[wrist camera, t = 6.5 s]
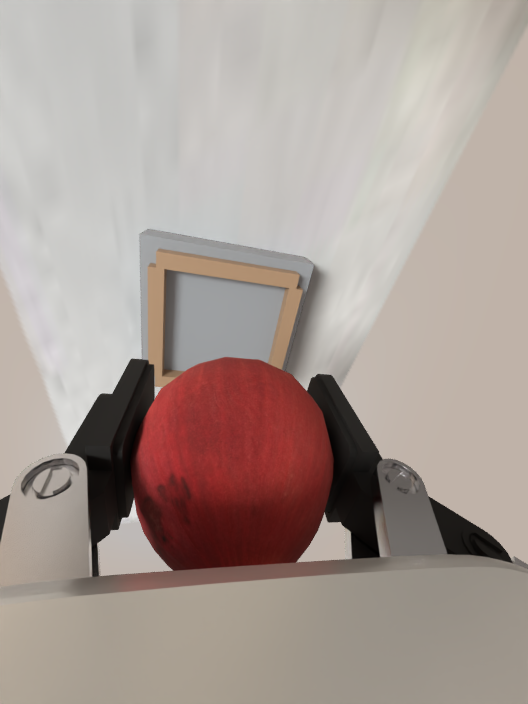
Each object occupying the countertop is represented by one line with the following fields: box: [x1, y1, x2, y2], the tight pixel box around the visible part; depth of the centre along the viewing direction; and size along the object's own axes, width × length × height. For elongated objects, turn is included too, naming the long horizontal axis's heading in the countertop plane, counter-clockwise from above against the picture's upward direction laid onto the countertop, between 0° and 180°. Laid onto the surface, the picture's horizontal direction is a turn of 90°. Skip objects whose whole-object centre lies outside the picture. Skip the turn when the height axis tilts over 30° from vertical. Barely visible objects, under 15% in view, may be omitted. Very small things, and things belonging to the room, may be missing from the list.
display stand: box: [139, 229, 314, 387], centre depth 27 cm, size 14×14×4 cm
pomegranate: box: [130, 357, 334, 571], centre depth 8 cm, size 6×6×8 cm
